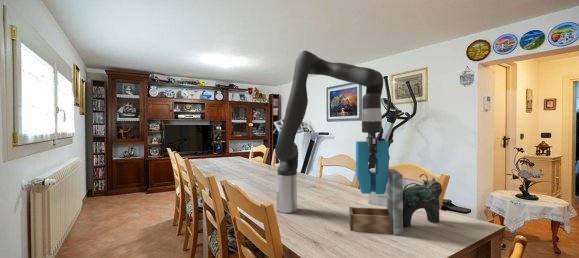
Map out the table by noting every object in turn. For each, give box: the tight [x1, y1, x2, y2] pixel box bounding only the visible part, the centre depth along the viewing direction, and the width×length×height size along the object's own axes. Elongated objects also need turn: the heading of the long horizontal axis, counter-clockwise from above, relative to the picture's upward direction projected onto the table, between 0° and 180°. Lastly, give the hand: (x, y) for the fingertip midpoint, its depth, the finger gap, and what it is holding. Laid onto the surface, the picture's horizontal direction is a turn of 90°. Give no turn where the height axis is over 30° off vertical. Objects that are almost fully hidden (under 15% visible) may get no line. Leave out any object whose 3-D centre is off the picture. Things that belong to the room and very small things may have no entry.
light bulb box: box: [367, 186, 387, 207], centre depth 137 cm, size 11×7×11 cm, turn 58°
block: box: [355, 140, 390, 195], centre depth 105 cm, size 12×5×20 cm, turn 83°
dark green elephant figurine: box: [403, 173, 443, 228], centre depth 108 cm, size 20×6×20 cm, turn 108°
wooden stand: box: [348, 168, 404, 237], centre depth 105 cm, size 18×14×22 cm
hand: (371, 163), depth 105 cm, fingers closed on block, 5 cm apart
